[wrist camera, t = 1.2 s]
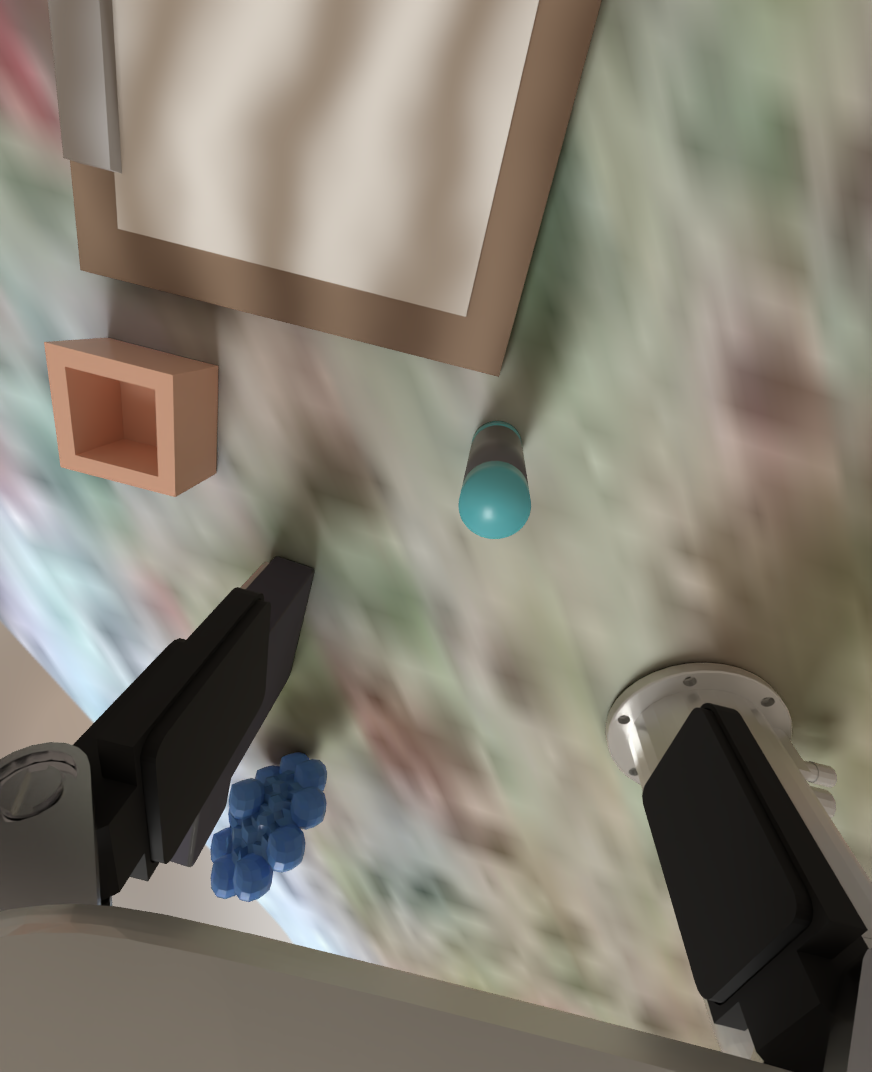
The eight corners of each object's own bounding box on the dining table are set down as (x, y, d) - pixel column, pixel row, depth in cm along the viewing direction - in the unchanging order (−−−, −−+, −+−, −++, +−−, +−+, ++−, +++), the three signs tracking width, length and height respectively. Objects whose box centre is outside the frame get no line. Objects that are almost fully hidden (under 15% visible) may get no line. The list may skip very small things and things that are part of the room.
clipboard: (623, -81, 19) (635, -120, 18) (499, 374, 27) (498, 379, 26) (53, -218, 20) (7, -271, 18) (94, 271, 28) (65, 268, 26)
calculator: (267, 549, 34) (115, 705, 21) (324, 569, 34) (210, 736, 21) (246, 661, 39) (113, 847, 26) (297, 678, 39) (190, 872, 26)
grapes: (315, 699, 40) (246, 844, 29) (365, 751, 42) (317, 905, 31) (222, 746, 44) (131, 888, 33) (272, 791, 46) (201, 940, 35)
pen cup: (218, 365, 29) (172, 375, 25) (216, 473, 32) (175, 496, 28) (107, 337, 29) (44, 342, 25) (115, 447, 32) (60, 467, 28)
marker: (528, 428, 28) (540, 482, 19) (513, 475, 30) (518, 546, 21) (479, 415, 28) (468, 464, 19) (466, 462, 30) (451, 529, 21)
